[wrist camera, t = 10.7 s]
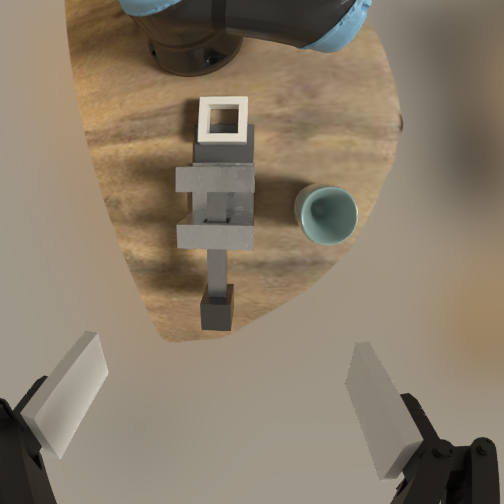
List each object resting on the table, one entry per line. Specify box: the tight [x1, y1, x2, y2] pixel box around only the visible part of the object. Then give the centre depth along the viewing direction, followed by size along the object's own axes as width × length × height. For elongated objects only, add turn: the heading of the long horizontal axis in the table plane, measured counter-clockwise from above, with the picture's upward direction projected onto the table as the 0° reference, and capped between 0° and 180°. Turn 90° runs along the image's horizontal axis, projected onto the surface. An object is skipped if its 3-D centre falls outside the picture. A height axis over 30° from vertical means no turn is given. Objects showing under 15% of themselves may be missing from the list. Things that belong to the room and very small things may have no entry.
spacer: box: [198, 96, 248, 145], centre depth 41 cm, size 3×7×7 cm
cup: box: [294, 183, 358, 245], centre depth 41 cm, size 8×8×10 cm
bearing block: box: [176, 163, 255, 250], centre depth 40 cm, size 11×9×11 cm
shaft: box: [200, 192, 234, 331], centre depth 40 cm, size 21×4×7 cm, turn 179°
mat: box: [194, 124, 254, 163], centre depth 43 cm, size 6×9×1 cm, turn 89°
